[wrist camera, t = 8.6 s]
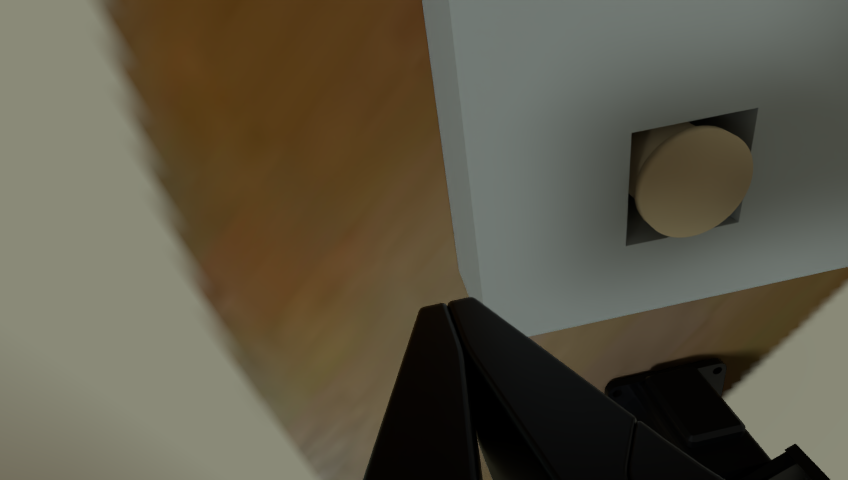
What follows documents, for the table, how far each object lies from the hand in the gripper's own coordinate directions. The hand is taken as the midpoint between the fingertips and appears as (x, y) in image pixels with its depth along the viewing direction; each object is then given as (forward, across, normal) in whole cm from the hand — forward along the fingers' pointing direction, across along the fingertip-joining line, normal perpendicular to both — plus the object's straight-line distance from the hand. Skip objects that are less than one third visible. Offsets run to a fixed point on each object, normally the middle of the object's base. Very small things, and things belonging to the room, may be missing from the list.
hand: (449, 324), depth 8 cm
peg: (+13, -9, +3) cm, 16 cm away
